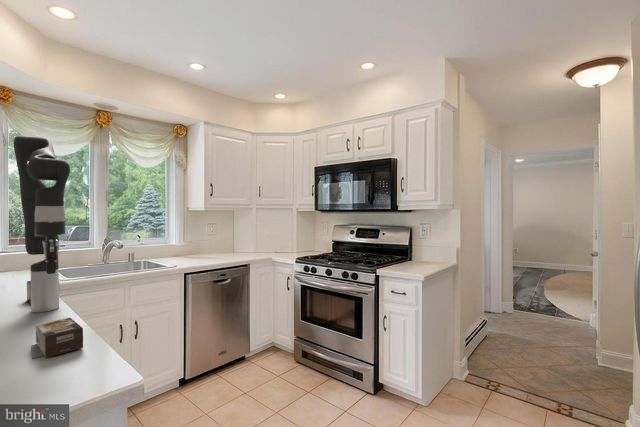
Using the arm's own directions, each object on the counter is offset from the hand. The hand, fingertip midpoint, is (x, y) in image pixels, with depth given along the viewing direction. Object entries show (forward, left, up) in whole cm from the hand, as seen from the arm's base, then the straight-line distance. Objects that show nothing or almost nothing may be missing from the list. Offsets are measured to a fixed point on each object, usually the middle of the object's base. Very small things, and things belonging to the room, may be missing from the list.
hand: (51, 273), depth 103 cm
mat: (+6, 0, -22) cm, 23 cm away
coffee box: (-1, 0, -19) cm, 19 cm away
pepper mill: (-65, 0, -23) cm, 69 cm away
